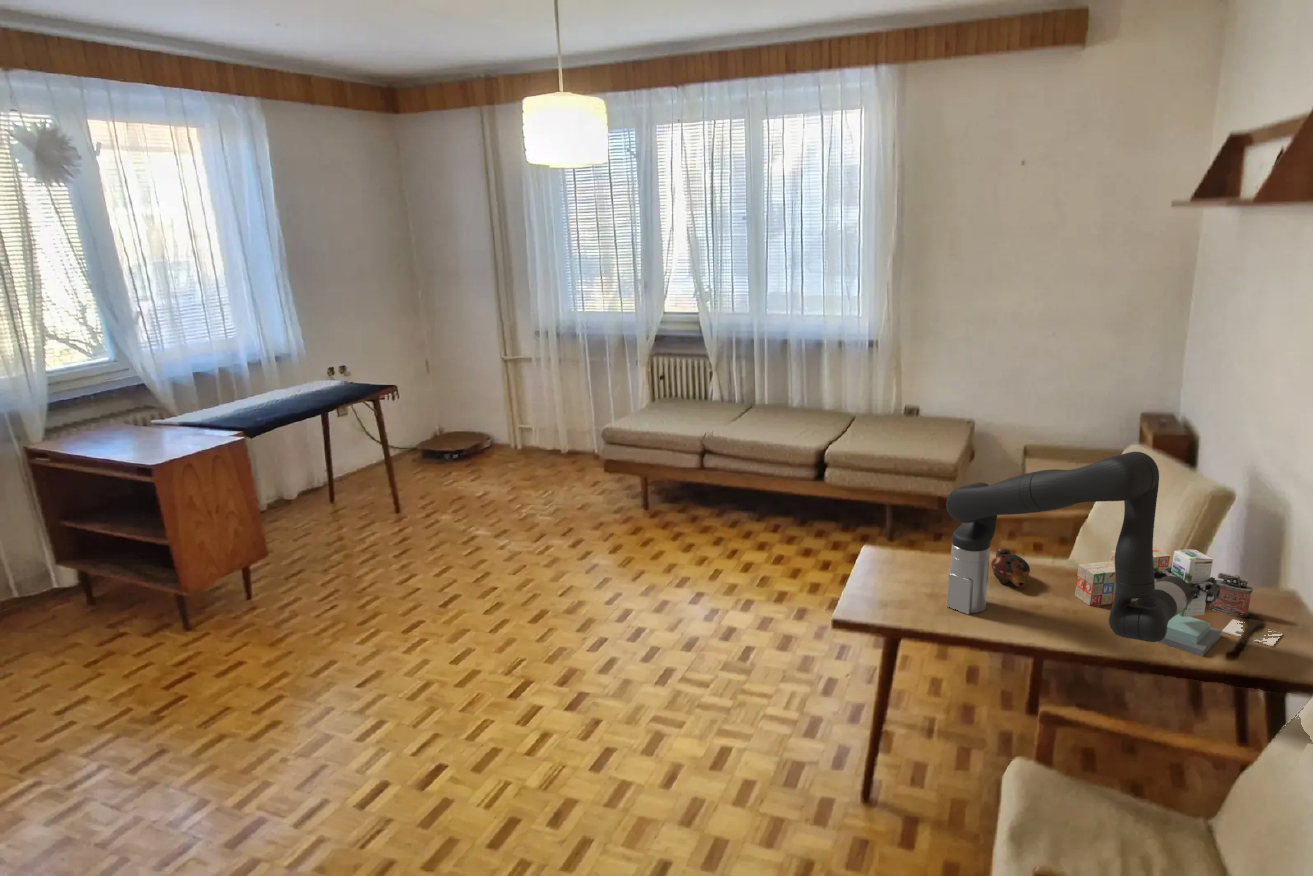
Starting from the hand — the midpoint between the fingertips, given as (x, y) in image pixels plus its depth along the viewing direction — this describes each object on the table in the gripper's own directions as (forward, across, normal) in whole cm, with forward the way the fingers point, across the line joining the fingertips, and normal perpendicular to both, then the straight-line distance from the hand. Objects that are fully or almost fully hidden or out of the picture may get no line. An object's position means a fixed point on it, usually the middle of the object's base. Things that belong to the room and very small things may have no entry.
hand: (1192, 576), depth 190 cm
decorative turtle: (-2, +42, +15) cm, 45 cm away
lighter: (+19, -4, +15) cm, 25 cm away
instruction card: (+11, -11, +15) cm, 22 cm away
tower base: (-2, 0, +15) cm, 15 cm away
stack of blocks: (+9, +18, +15) cm, 25 cm away
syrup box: (-2, 0, +8) cm, 9 cm away
